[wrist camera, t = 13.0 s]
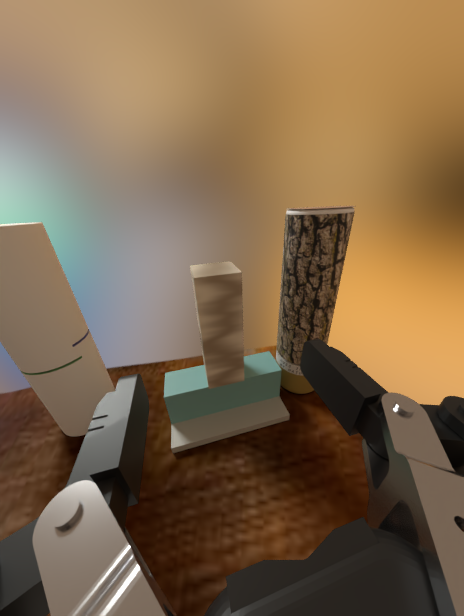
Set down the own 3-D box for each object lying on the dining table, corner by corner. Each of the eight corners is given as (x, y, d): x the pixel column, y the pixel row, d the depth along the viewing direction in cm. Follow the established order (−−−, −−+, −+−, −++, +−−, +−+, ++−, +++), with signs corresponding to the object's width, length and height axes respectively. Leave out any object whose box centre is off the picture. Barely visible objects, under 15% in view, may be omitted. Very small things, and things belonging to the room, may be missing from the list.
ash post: (208, 389, 24) (193, 278, 18) (204, 364, 28) (190, 265, 22) (244, 380, 25) (241, 272, 19) (234, 357, 29) (230, 261, 23)
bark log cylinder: (328, 389, 31) (372, 205, 19) (288, 401, 29) (310, 209, 18) (302, 360, 36) (324, 206, 25) (267, 369, 35) (275, 209, 24)
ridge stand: (172, 453, 24) (162, 420, 21) (173, 387, 32) (166, 358, 30) (289, 419, 27) (293, 387, 24) (261, 367, 35) (261, 339, 33)
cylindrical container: (128, 392, 32) (60, 221, 21) (96, 439, 26) (-29, 228, 14) (88, 389, 33) (2, 224, 22) (47, 433, 27) (-105, 232, 15)
